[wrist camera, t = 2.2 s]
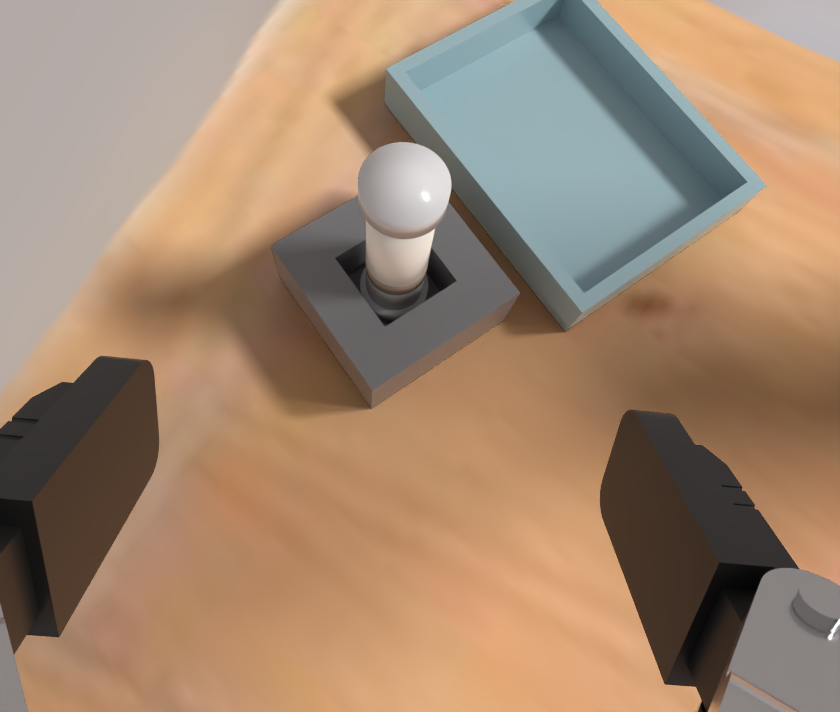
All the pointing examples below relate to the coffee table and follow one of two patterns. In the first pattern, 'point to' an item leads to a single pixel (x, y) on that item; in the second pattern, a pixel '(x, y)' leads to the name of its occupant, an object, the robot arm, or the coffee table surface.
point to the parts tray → (569, 148)
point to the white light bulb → (400, 224)
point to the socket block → (411, 333)
